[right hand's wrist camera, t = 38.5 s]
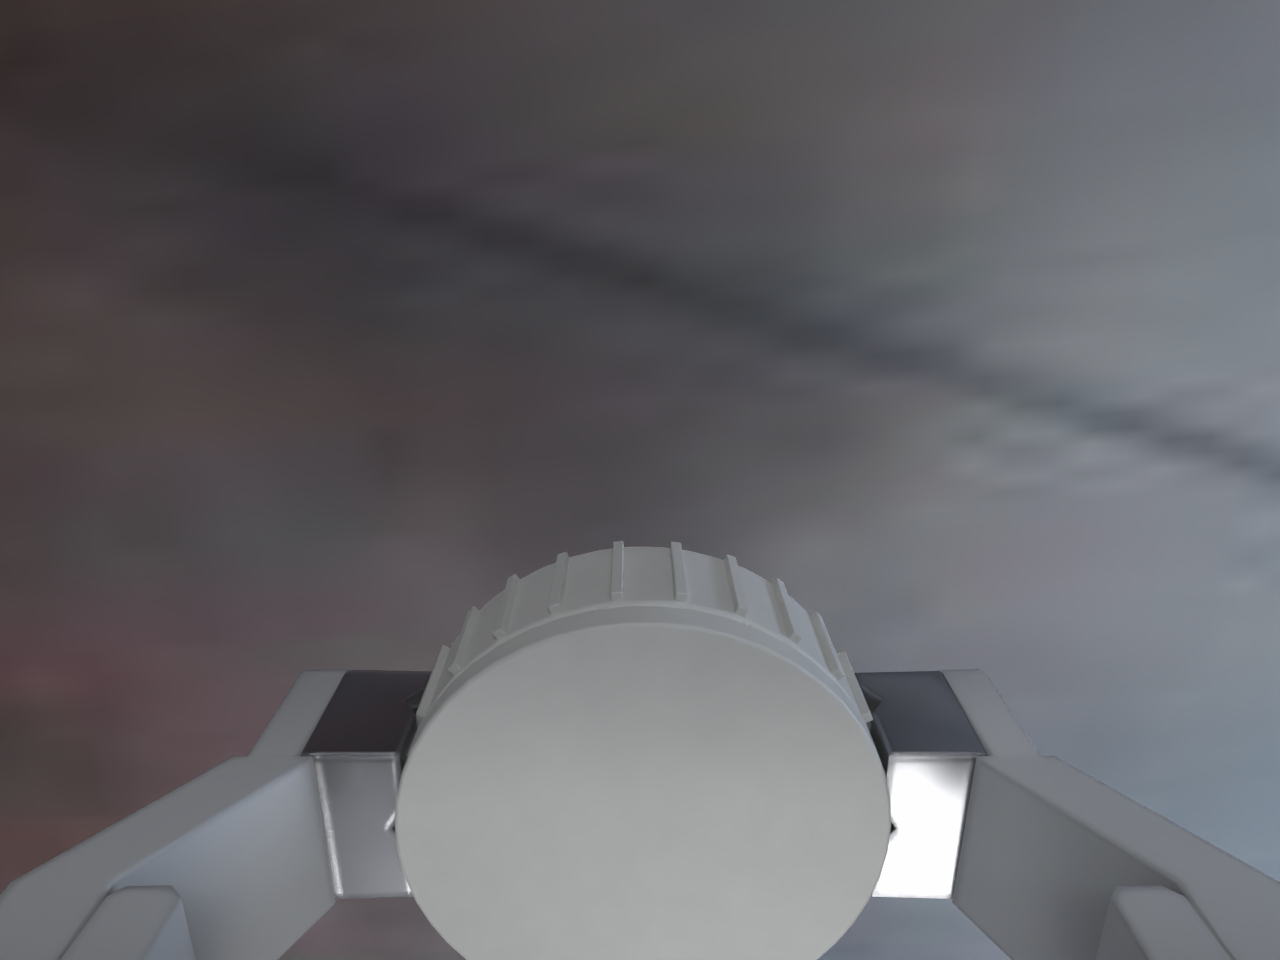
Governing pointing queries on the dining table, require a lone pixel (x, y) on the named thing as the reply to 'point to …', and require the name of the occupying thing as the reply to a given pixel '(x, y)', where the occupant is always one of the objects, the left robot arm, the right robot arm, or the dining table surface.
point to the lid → (642, 770)
